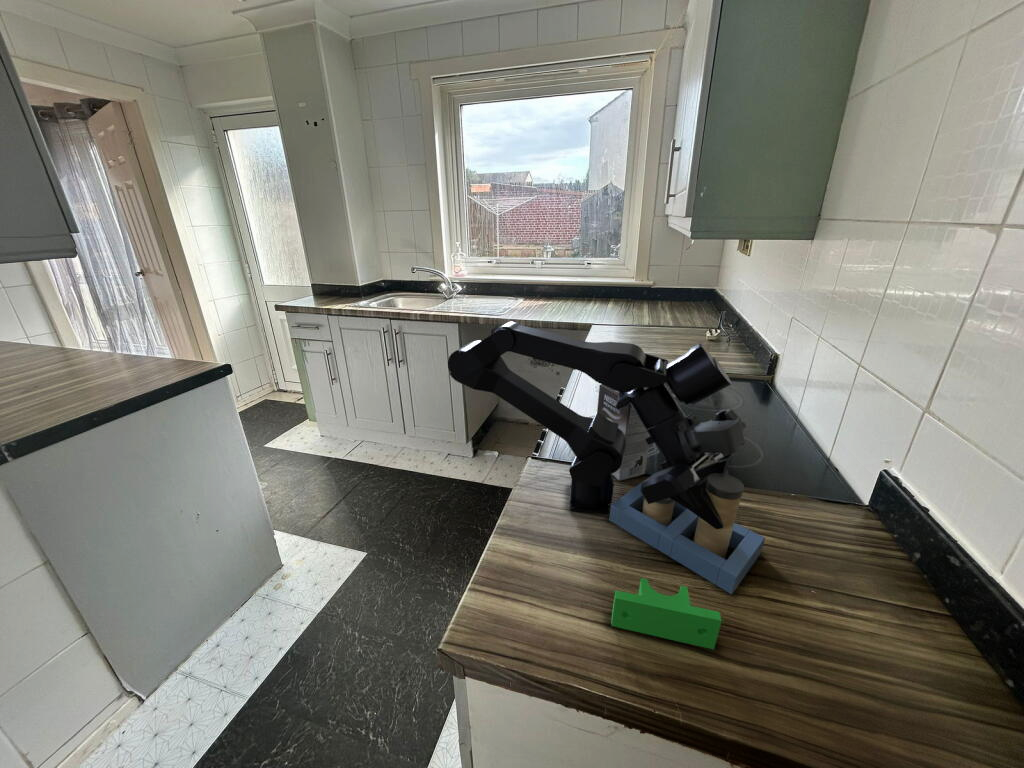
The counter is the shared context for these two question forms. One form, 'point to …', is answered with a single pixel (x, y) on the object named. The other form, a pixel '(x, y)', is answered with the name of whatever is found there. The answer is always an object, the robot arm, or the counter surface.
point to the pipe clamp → (666, 616)
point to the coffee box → (626, 433)
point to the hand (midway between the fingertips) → (727, 520)
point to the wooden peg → (720, 513)
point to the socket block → (688, 541)
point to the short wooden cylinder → (659, 510)
